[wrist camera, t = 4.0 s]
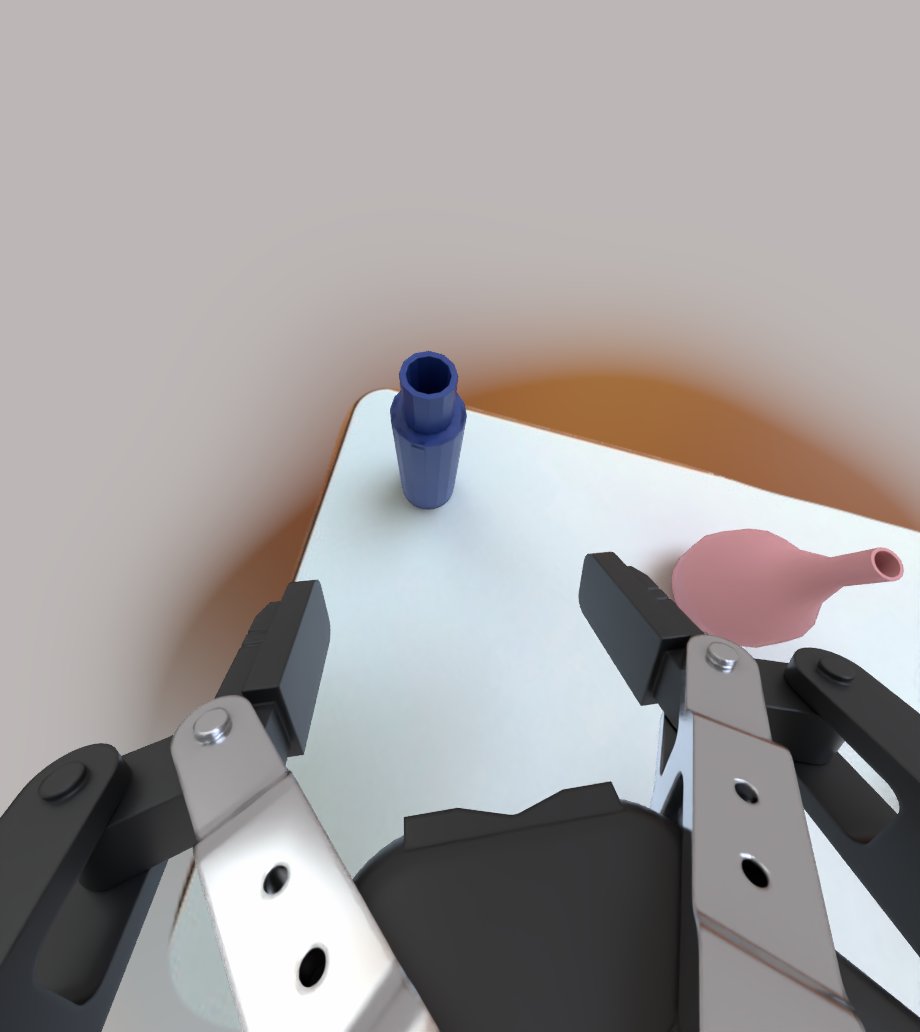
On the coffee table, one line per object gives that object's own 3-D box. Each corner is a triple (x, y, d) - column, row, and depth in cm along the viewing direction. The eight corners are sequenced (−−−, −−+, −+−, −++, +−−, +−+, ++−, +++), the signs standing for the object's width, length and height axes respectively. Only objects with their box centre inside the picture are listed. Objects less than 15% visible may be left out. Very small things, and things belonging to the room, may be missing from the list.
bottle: (396, 501, 28) (371, 399, 16) (411, 456, 30) (399, 330, 17) (446, 515, 28) (460, 423, 16) (459, 469, 30) (481, 352, 17)
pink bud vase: (678, 525, 30) (833, 457, 18) (763, 581, 29) (981, 546, 18) (636, 604, 28) (784, 582, 16) (727, 668, 27) (952, 692, 15)
